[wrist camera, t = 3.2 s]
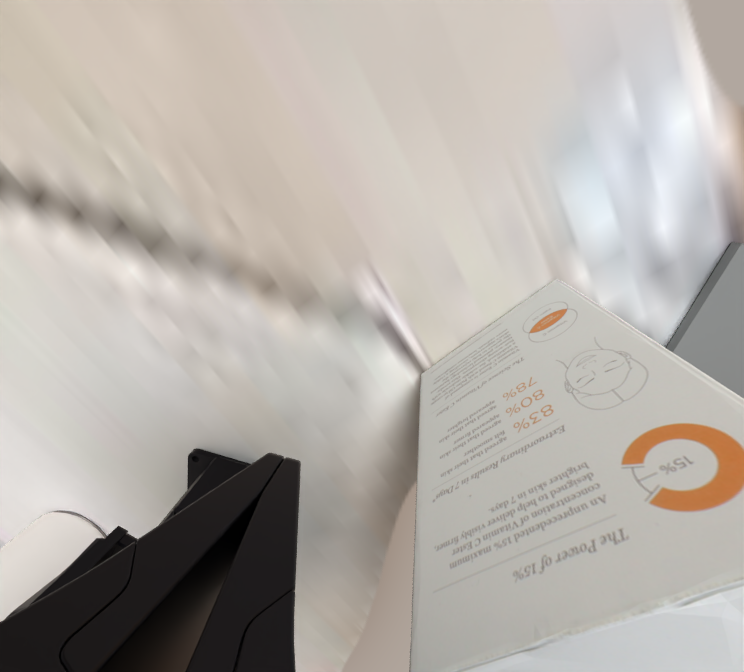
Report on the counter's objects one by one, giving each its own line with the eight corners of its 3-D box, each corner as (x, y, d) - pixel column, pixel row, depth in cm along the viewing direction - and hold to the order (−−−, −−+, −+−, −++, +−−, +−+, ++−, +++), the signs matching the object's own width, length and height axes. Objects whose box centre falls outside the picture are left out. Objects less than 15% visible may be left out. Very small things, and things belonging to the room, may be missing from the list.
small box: (490, 452, 20) (583, 847, 8) (417, 372, 19) (396, 692, 7) (635, 373, 17) (1124, 804, 5) (558, 273, 16) (960, 522, 4)
